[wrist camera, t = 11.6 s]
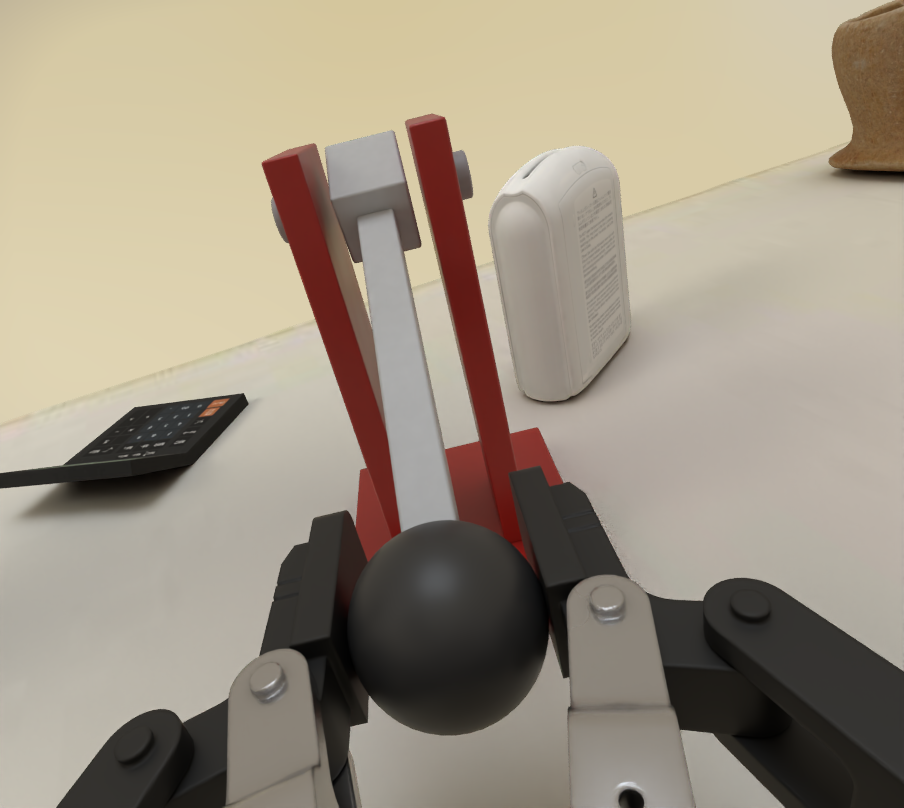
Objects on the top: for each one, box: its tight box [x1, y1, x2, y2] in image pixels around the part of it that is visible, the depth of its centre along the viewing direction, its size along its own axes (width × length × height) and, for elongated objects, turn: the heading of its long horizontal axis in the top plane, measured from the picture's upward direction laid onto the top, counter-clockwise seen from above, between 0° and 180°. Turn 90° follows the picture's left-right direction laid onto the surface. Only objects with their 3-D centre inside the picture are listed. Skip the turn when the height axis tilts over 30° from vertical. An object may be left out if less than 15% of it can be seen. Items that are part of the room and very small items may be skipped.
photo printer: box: [488, 146, 631, 401], centre depth 34 cm, size 10×4×12 cm, turn 146°
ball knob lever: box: [325, 131, 549, 735], centre depth 14 cm, size 16×4×4 cm, turn 6°
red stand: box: [262, 114, 563, 561], centre depth 21 cm, size 11×9×16 cm
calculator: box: [0, 393, 248, 488], centre depth 38 cm, size 9×12×3 cm
